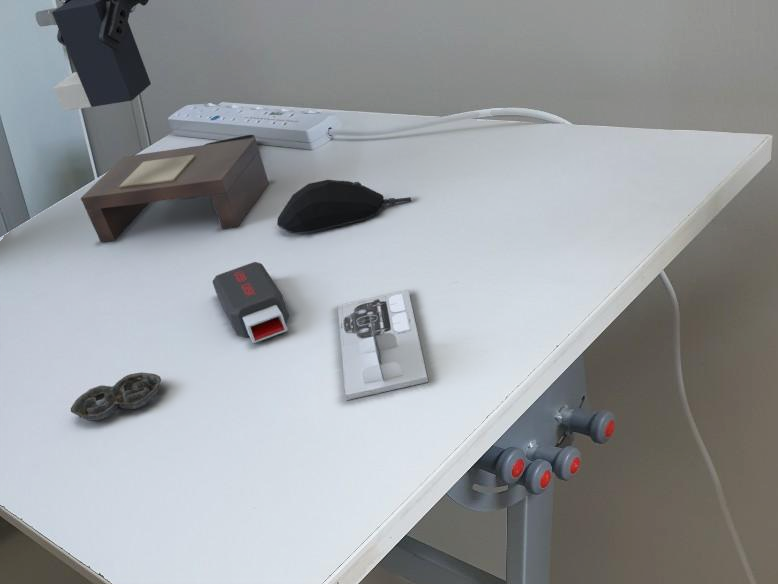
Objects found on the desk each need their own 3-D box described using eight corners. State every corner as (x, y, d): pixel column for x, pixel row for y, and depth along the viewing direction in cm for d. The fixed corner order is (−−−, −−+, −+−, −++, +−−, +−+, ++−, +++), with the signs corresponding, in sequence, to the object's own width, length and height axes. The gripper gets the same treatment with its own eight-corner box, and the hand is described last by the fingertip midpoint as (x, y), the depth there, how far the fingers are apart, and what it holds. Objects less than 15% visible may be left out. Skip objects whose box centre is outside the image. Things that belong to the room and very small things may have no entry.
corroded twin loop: (74, 404, 77) (68, 395, 76) (160, 373, 78) (156, 363, 77) (77, 433, 73) (71, 423, 72) (168, 400, 74) (163, 390, 73)
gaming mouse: (413, 212, 93) (405, 175, 90) (278, 241, 94) (267, 205, 91) (409, 189, 97) (402, 153, 95) (281, 218, 99) (271, 183, 96)
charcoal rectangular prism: (151, 84, 94) (116, -11, 88) (132, 100, 91) (94, 3, 85) (83, 95, 97) (45, 3, 91) (63, 111, 93) (21, 18, 87)
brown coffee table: (100, 242, 104) (79, 196, 100) (140, 199, 112) (122, 154, 109) (237, 227, 99) (220, 177, 95) (269, 183, 107) (254, 135, 104)
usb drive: (266, 279, 88) (258, 254, 86) (298, 329, 79) (289, 302, 77) (217, 297, 87) (208, 272, 85) (244, 349, 78) (234, 322, 76)
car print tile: (428, 381, 69) (418, 332, 66) (346, 400, 69) (332, 351, 66) (409, 293, 80) (399, 247, 77) (338, 310, 80) (326, 265, 77)
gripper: (51, -143, 88) (15, 27, 90) (140, -163, 80) (99, 24, 82) (113, -93, 94) (78, 64, 96) (201, -108, 86) (161, 64, 88)
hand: (88, 45), depth 89 cm, fingers closed on charcoal rectangular prism, 6 cm apart
